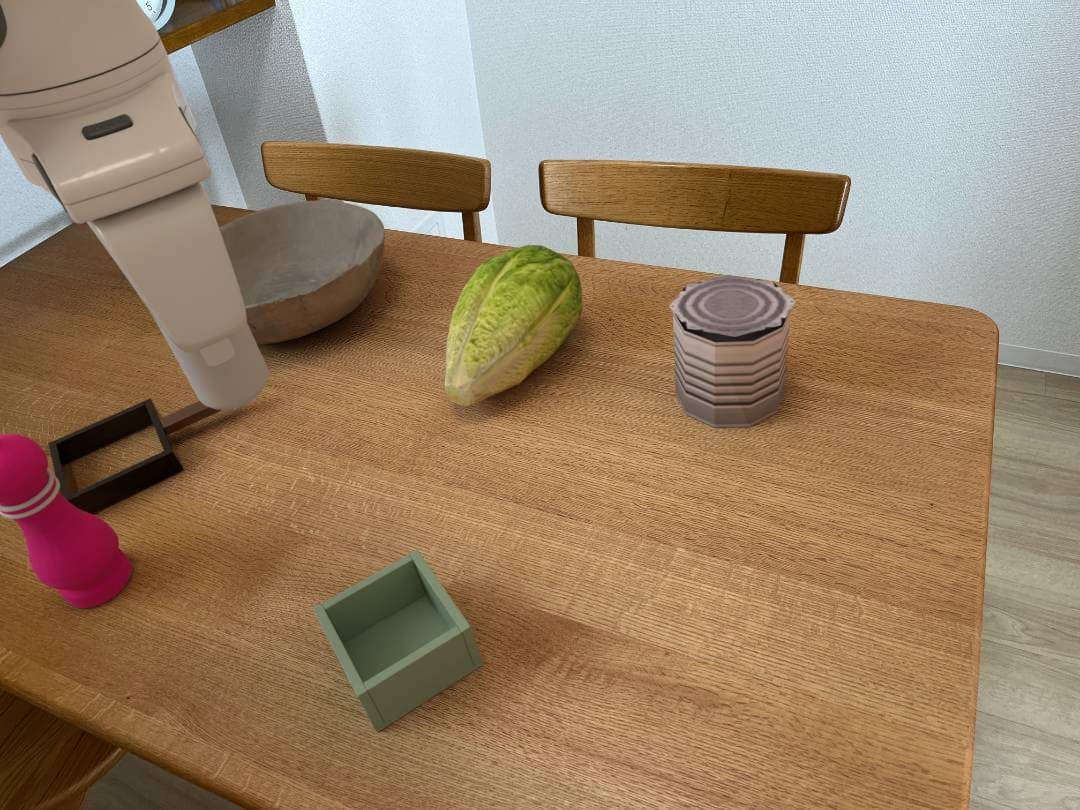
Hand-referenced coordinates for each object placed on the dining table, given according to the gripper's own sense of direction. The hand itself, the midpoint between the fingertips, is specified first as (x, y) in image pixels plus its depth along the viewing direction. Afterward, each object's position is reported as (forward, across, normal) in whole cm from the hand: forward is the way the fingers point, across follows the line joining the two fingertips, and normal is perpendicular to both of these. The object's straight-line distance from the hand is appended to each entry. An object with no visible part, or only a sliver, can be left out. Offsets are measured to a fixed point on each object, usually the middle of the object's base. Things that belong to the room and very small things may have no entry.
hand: (207, 335), depth 50 cm
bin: (+31, +6, +2) cm, 32 cm away
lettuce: (+31, -20, +30) cm, 48 cm away
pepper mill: (+31, -20, -18) cm, 41 cm away
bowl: (+31, -52, +14) cm, 62 cm away
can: (+31, 0, +45) cm, 54 cm away
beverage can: (+5, 0, 0) cm, 5 cm away
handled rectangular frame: (+31, -36, -9) cm, 48 cm away
